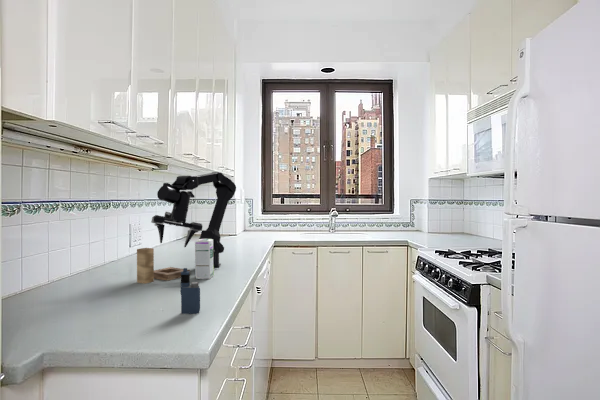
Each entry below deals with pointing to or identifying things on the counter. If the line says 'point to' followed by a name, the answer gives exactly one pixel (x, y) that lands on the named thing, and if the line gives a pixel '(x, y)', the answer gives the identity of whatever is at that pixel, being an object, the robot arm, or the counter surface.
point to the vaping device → (189, 294)
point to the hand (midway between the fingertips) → (173, 245)
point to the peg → (145, 265)
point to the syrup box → (204, 259)
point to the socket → (168, 273)
